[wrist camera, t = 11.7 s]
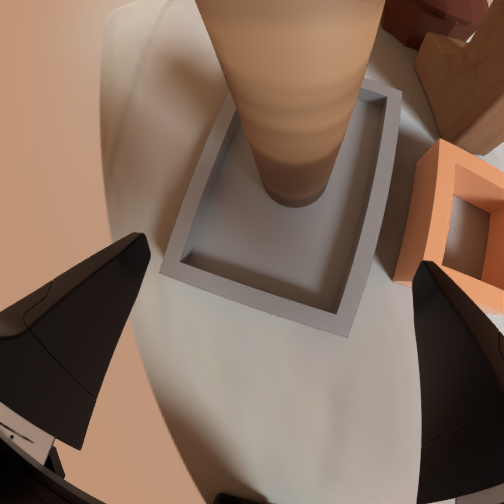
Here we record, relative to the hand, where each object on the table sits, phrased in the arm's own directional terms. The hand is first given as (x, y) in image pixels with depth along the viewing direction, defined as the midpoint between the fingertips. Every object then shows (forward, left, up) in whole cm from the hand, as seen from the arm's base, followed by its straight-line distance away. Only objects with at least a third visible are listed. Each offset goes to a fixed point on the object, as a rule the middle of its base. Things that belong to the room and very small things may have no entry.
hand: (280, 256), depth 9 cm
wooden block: (+16, -9, -9) cm, 21 cm away
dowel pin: (+5, +1, -8) cm, 10 cm away
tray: (+5, +1, -9) cm, 10 cm away
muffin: (+26, -6, -9) cm, 29 cm away
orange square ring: (+5, -11, -9) cm, 15 cm away
